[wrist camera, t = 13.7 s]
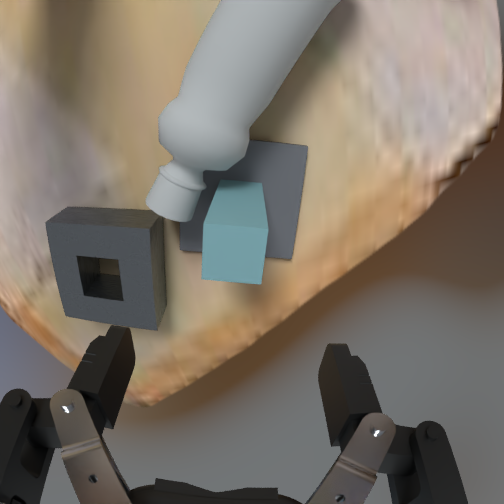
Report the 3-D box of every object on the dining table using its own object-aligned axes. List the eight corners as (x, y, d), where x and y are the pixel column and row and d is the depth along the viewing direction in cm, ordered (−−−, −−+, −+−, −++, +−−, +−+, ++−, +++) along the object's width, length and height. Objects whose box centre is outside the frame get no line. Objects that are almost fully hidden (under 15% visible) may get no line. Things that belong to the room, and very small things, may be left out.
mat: (183, 135, 29) (182, 136, 28) (306, 145, 29) (308, 146, 29) (181, 246, 34) (179, 250, 33) (290, 255, 35) (291, 258, 34)
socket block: (67, 206, 32) (45, 222, 27) (163, 211, 32) (149, 228, 28) (81, 293, 37) (65, 316, 32) (166, 304, 37) (157, 330, 33)
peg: (220, 179, 30) (203, 223, 19) (261, 183, 30) (268, 229, 19) (217, 217, 32) (201, 279, 21) (257, 221, 32) (261, 284, 21)
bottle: (260, -83, 16) (114, 177, 27) (324, -105, 10) (132, 228, 21) (323, -35, 22) (194, 194, 33) (391, -36, 16) (231, 243, 27)
